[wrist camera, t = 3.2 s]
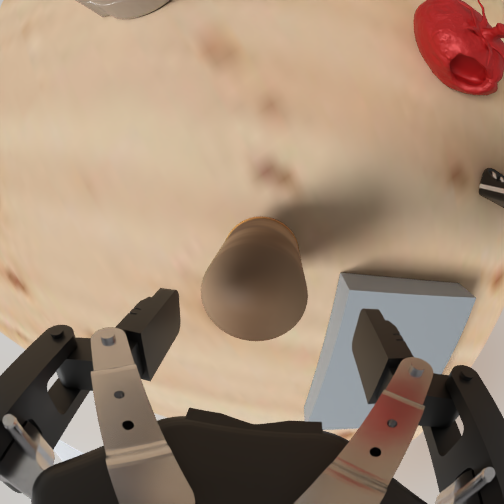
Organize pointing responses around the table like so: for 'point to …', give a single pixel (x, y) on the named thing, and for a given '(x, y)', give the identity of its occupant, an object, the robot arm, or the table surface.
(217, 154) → the table surface
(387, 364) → the robot arm
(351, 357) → the board
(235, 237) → the peg
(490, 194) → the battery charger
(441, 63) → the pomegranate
